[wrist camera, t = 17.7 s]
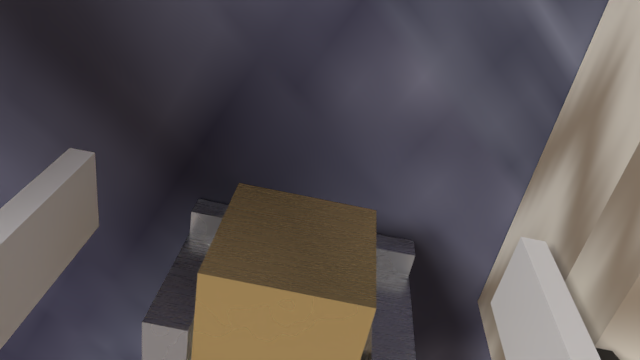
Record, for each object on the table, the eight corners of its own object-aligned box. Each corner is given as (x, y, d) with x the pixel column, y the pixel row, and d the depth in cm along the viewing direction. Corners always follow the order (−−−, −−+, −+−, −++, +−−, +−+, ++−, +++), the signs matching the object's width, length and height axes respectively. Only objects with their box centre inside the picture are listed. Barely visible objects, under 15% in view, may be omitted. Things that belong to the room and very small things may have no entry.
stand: (198, 198, 21) (142, 299, 16) (413, 241, 21) (425, 354, 16) (187, 363, 26) (141, 480, 21) (362, 397, 26) (359, 522, 21)
